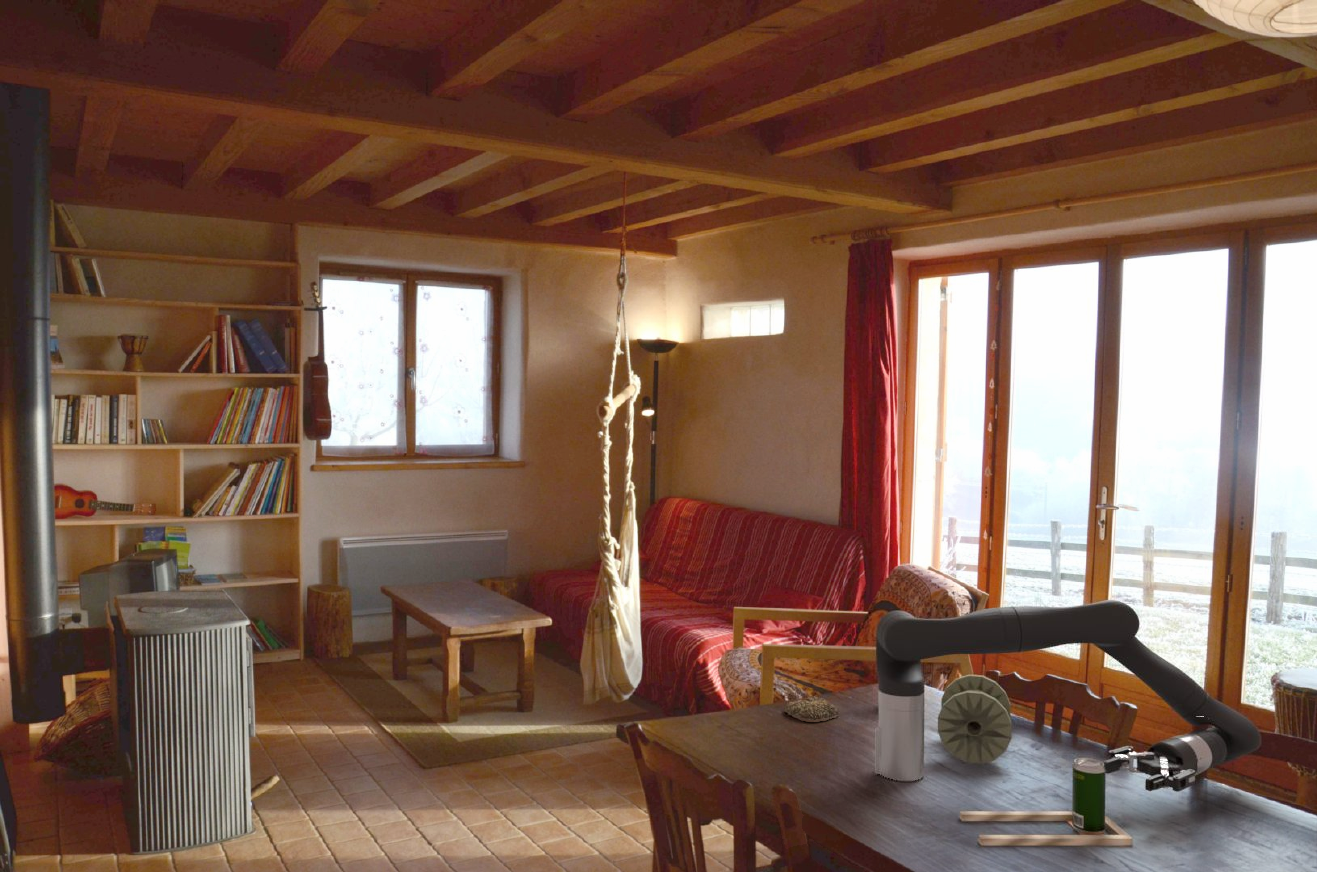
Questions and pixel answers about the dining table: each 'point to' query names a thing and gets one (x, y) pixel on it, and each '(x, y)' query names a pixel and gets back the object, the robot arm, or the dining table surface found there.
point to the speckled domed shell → (812, 708)
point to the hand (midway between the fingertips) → (1125, 776)
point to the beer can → (1088, 796)
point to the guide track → (1115, 839)
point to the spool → (975, 719)
